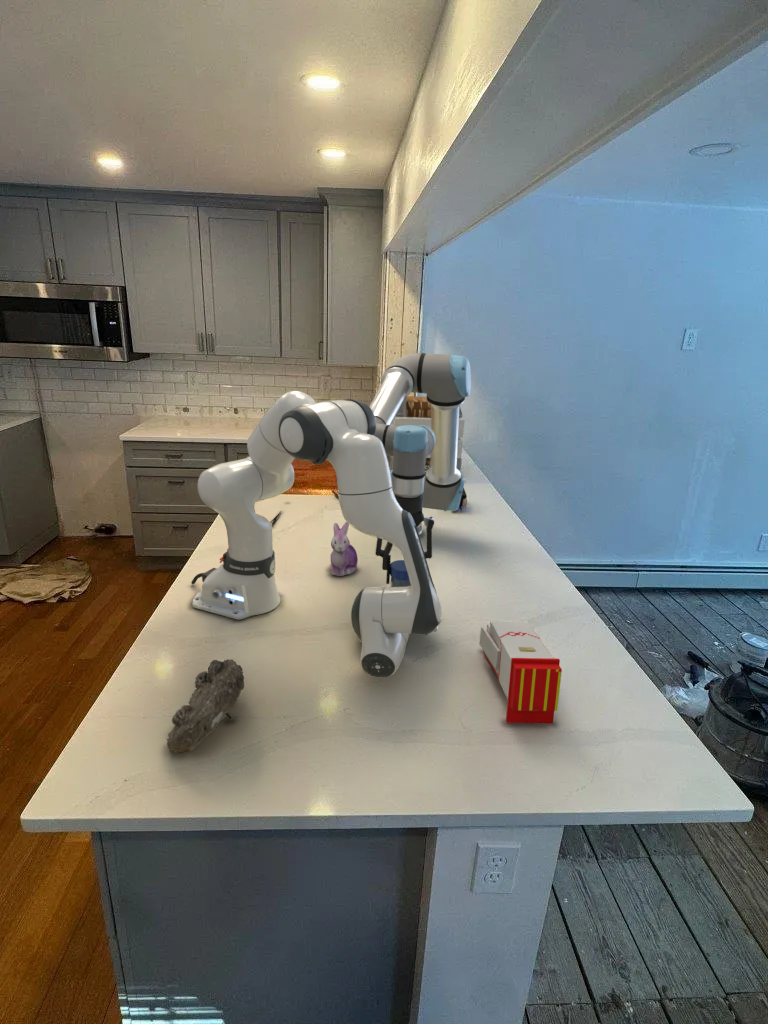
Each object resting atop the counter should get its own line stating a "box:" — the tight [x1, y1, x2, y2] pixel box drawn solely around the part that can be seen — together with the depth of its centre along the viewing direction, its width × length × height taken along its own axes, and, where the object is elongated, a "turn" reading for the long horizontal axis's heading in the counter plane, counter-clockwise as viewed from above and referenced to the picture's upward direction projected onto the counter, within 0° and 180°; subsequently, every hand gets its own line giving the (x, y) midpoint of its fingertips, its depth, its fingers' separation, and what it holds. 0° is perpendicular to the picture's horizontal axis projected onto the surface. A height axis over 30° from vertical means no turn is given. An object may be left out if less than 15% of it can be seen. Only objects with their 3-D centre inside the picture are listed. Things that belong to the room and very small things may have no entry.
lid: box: [390, 559, 409, 580], centre depth 139 cm, size 6×6×2 cm
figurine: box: [329, 521, 359, 577], centre depth 168 cm, size 9×10×15 cm
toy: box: [478, 620, 563, 725], centre depth 121 cm, size 12×13×30 cm
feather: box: [269, 510, 282, 527], centre depth 212 cm, size 2×28×2 cm
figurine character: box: [457, 487, 468, 512], centre depth 228 cm, size 7×8×15 cm
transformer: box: [387, 395, 465, 475], centre depth 268 cm, size 34×33×41 cm
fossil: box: [166, 658, 245, 754], centre depth 106 cm, size 22×10×15 cm
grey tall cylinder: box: [390, 576, 411, 587], centre depth 141 cm, size 6×6×16 cm
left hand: (401, 598), depth 142 cm, fingers closed on grey tall cylinder, 5 cm apart
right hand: (402, 581), depth 140 cm, fingers closed on lid, 6 cm apart
